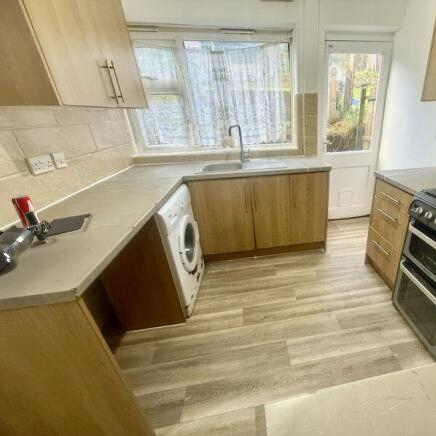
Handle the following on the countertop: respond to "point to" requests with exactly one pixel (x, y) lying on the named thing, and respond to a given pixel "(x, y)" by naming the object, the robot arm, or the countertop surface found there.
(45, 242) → the dock
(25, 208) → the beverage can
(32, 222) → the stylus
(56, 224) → the tablet
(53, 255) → the countertop surface
